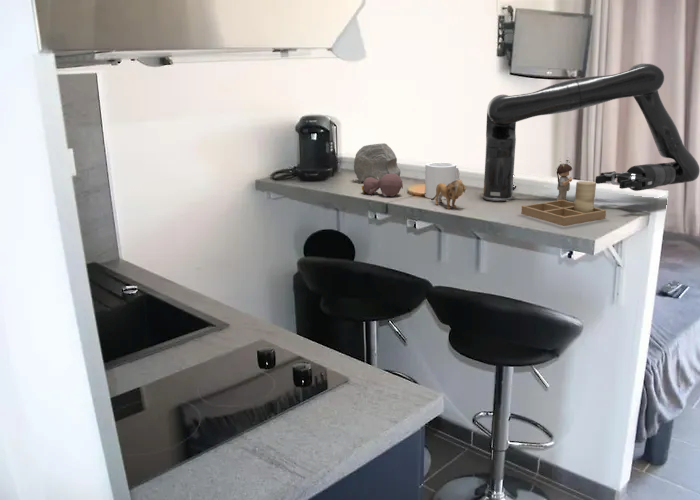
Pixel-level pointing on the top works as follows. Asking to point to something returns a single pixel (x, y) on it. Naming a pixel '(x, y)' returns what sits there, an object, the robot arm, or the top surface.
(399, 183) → the toy
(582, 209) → the peg
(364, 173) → the stone
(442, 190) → the lion figurine
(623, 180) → the robot arm
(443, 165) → the mug
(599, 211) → the wooden compartment tray
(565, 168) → the toy
